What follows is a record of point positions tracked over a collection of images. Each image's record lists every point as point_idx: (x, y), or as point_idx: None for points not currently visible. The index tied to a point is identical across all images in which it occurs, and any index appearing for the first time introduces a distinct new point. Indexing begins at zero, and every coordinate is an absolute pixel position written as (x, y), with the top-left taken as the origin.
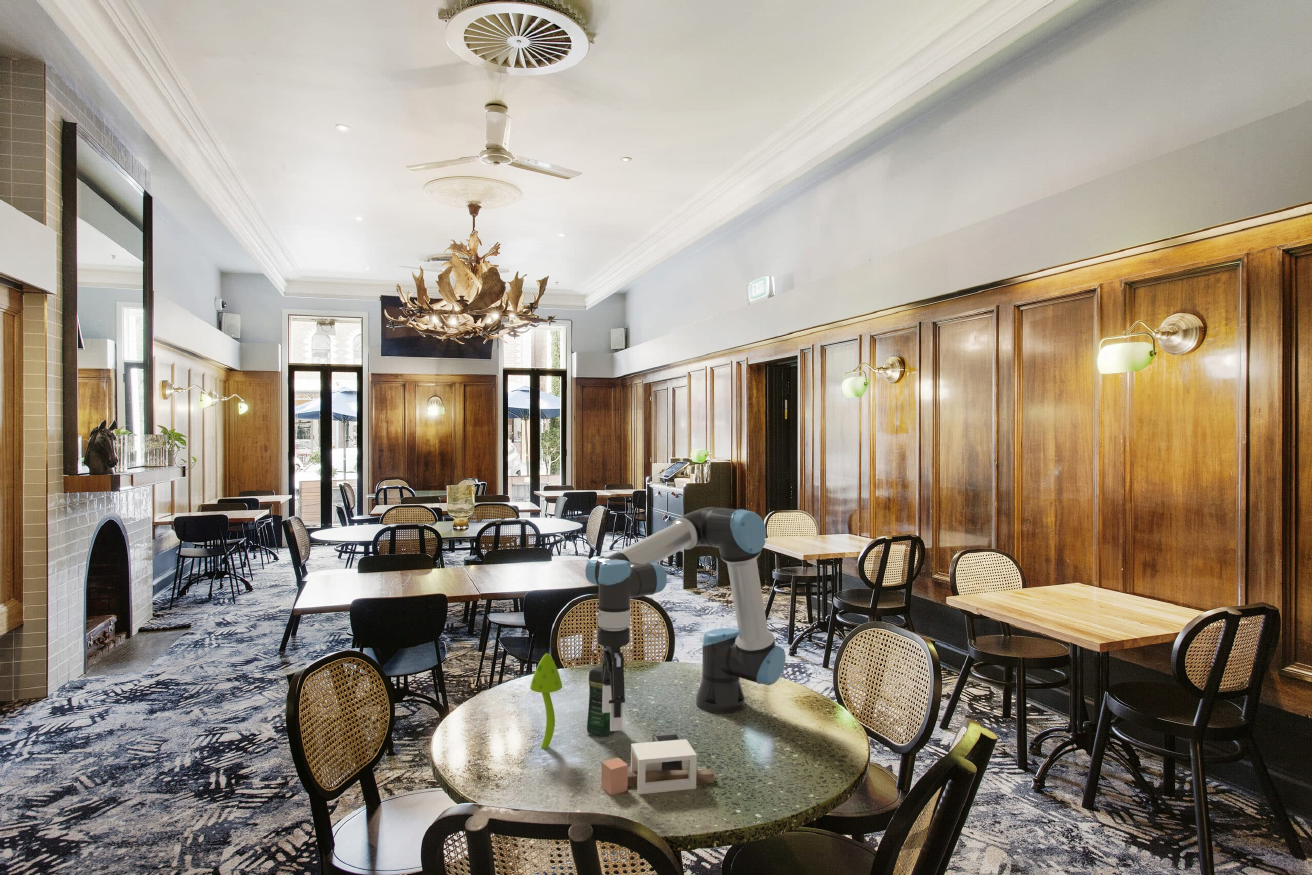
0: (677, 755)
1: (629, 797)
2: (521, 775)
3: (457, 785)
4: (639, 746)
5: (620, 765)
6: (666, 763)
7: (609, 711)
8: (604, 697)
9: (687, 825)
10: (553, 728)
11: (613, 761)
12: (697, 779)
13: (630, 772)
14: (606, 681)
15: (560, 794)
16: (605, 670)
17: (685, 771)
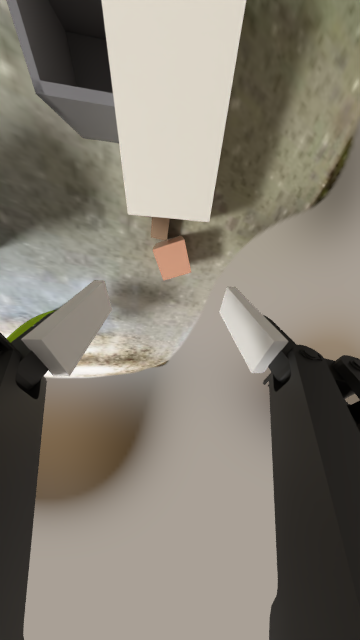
0: (228, 56)
1: (200, 238)
2: (129, 336)
3: (142, 368)
4: (145, 195)
5: (182, 253)
6: (86, 87)
7: (106, 293)
8: (92, 334)
9: (311, 163)
10: (38, 320)
11: (165, 261)
12: None
13: (155, 221)
14: (30, 381)
15: (171, 311)
16: (32, 517)
17: None
